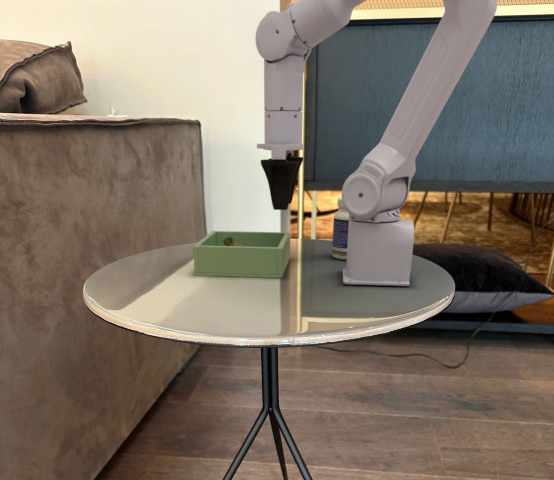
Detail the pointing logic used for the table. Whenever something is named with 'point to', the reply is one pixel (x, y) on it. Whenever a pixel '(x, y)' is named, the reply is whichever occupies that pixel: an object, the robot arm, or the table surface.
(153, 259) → the table surface
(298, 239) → the table surface
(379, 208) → the robot arm
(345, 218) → the pill bottle
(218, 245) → the basket
